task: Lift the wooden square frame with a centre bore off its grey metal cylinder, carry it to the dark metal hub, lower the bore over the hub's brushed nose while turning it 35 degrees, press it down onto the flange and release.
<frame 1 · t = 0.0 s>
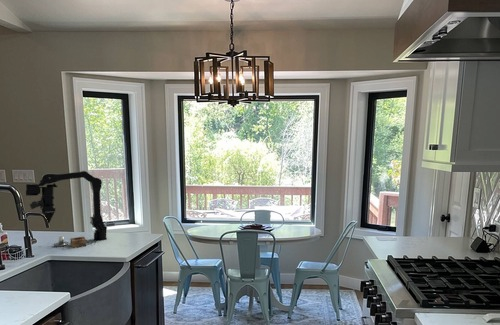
hand: (47, 221, 170), 14 cm above the countertop, fingers open, 9 cm apart
wooden square frame: (78, 245, 174), on the countertop
hub: (61, 245, 173), on the countertop
grey metal cylinder: (78, 245, 174), on the countertop
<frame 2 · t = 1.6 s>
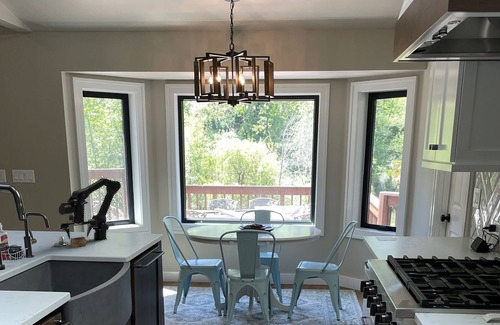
hand: (78, 238, 174), 4 cm above the countertop, fingers open, 9 cm apart
nothing on the countertop moved.
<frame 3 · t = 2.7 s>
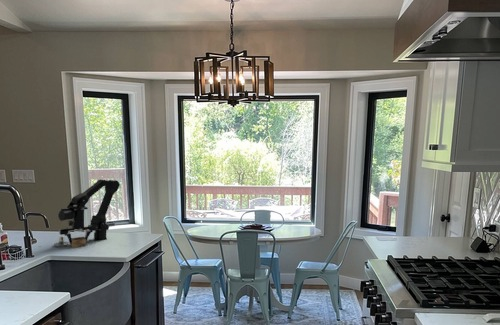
hand: (78, 243, 174), 1 cm above the countertop, fingers closed on wooden square frame, 7 cm apart
wooden square frame: (78, 245, 174), on the countertop, touching gripper
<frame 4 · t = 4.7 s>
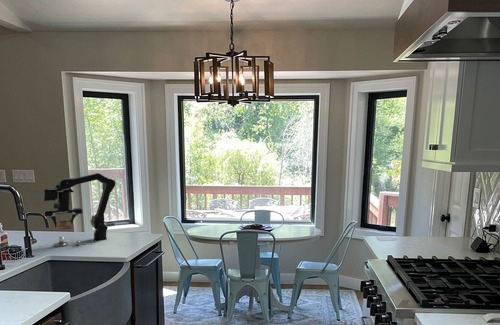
hand: (62, 226, 173), 11 cm above the countertop, fingers closed on wooden square frame, 7 cm apart
wooden square frame: (62, 228, 173), point 10 cm above the countertop, touching gripper
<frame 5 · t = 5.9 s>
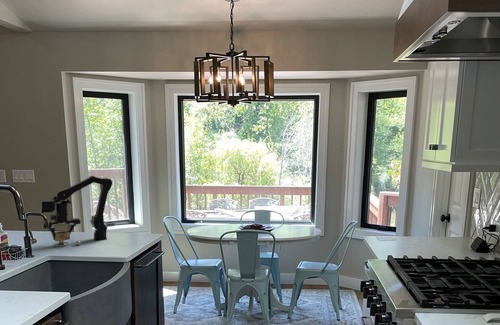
hand: (61, 237, 173), 5 cm above the countertop, fingers closed on wooden square frame, 7 cm apart
wooden square frame: (61, 239, 173), point 4 cm above the countertop, touching gripper
when the fingers open (2 cm above the countertop, at t = 7.0 s): wooden square frame stays where it is, resting on hub.
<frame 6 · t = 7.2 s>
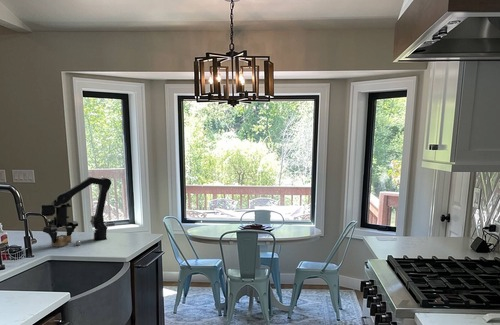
hand: (61, 241, 173), 2 cm above the countertop, fingers open, 9 cm apart
wooden square frame: (61, 243, 173), point 1 cm above the countertop, touching hub
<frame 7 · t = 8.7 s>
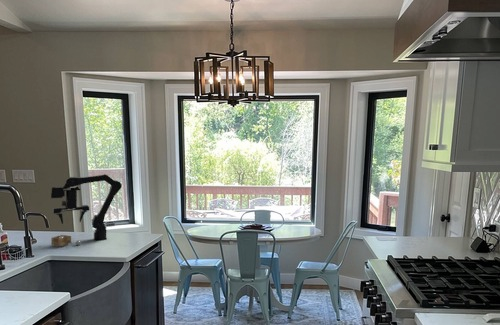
hand: (71, 223, 179), 12 cm above the countertop, fingers open, 9 cm apart
nothing on the countertop moved.
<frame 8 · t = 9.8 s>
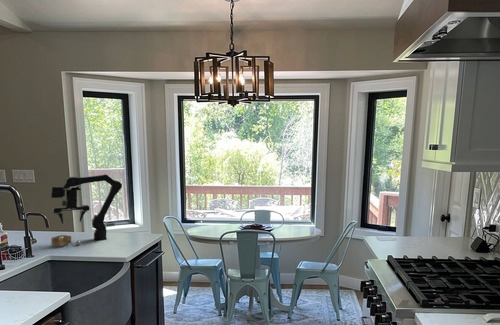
hand: (71, 222, 179), 12 cm above the countertop, fingers open, 9 cm apart
nothing on the countertop moved.
at the end: wooden square frame 0.1 cm from the hub (horizontally); wooden square frame point 1.0 cm above the countertop; the gripper is holding nothing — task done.
